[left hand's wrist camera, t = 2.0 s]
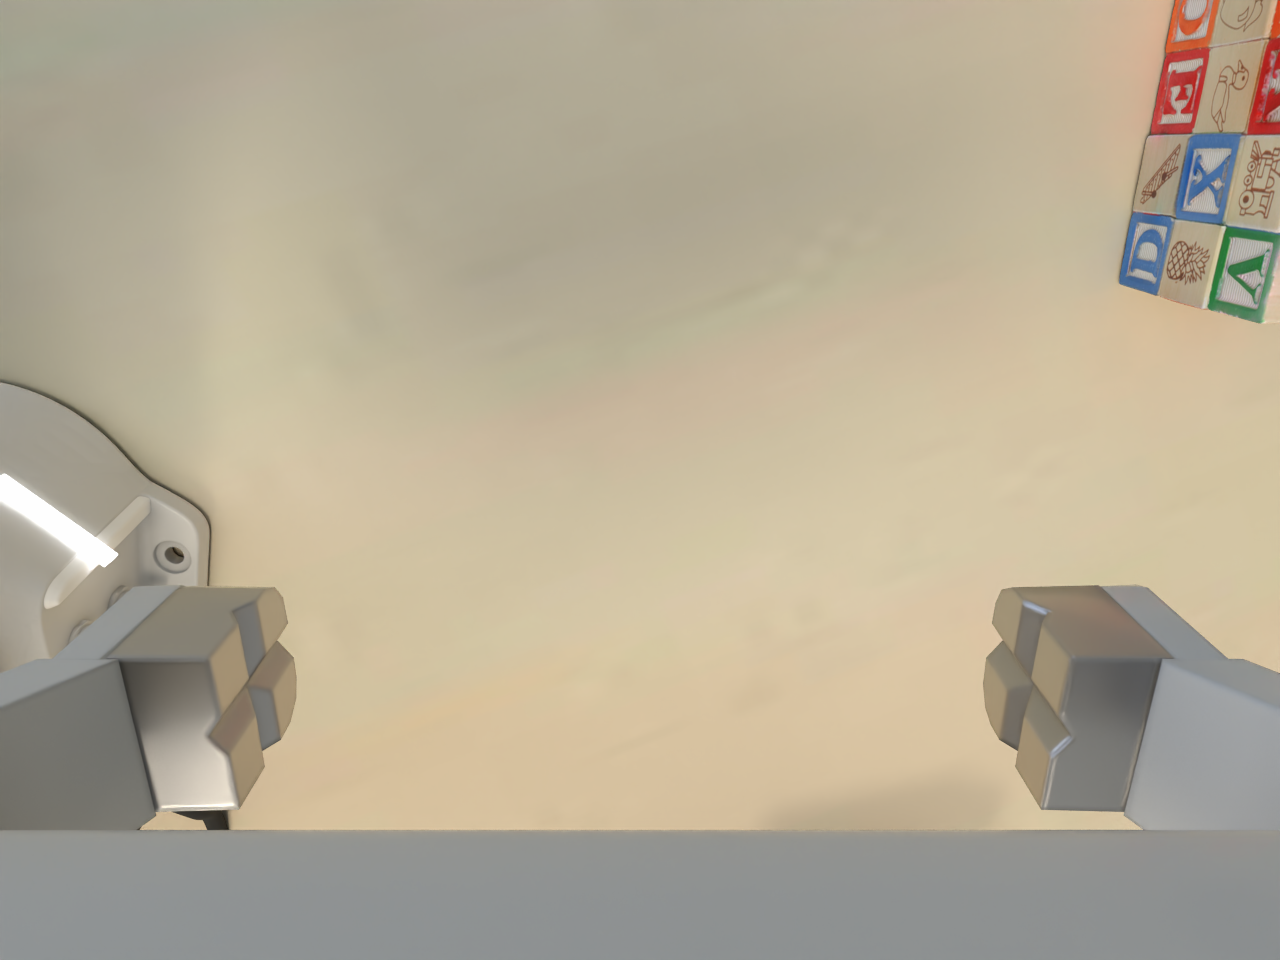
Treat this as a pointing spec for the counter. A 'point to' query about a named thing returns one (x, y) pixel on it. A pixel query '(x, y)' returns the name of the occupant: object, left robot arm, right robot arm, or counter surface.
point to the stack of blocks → (1213, 165)
